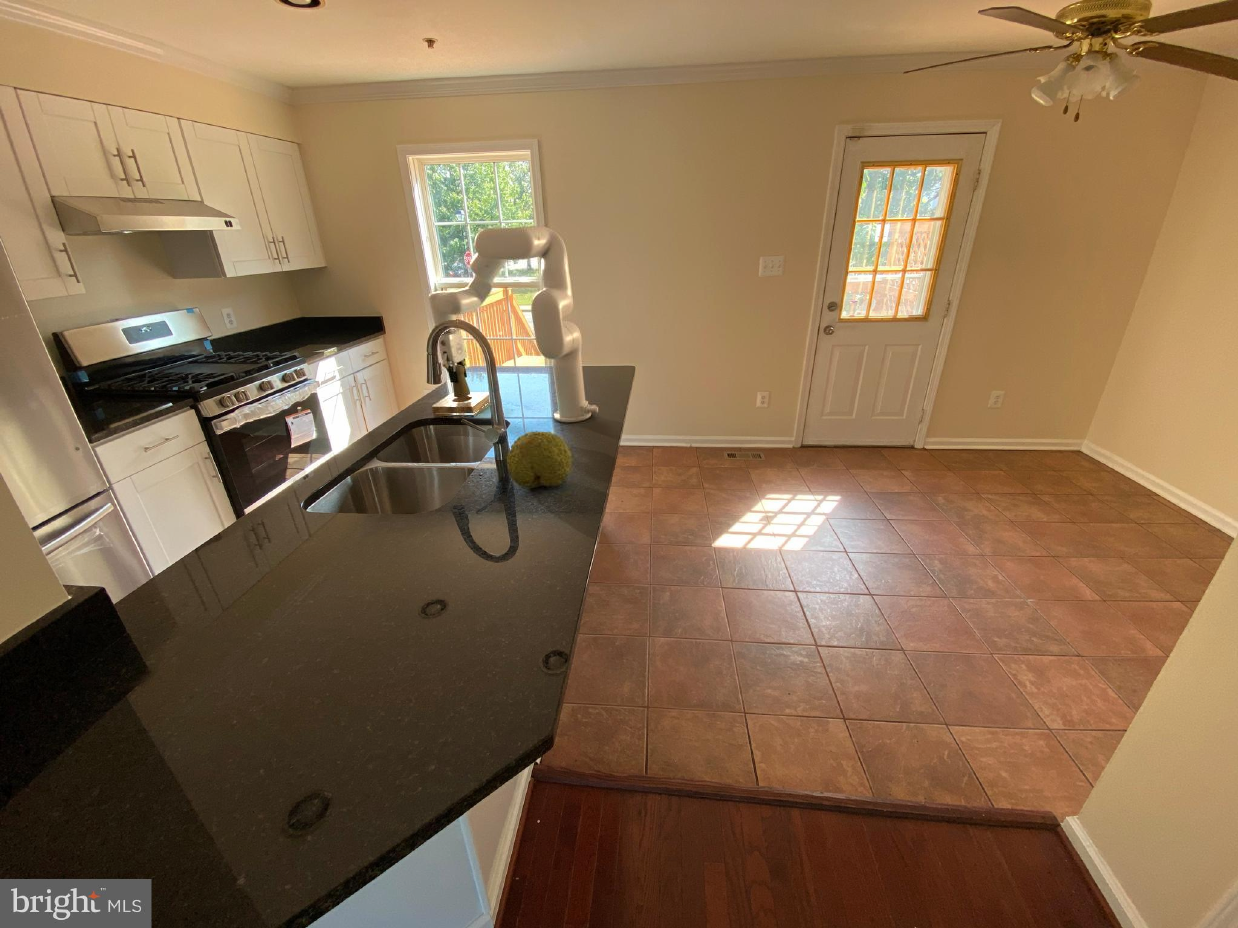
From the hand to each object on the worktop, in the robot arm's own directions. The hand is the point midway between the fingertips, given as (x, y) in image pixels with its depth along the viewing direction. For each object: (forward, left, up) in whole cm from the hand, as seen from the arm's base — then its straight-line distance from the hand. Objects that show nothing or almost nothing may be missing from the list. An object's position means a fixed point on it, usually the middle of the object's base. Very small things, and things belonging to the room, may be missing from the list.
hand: (459, 379), depth 180 cm
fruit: (-50, +54, -12) cm, 74 cm away
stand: (0, 0, -12) cm, 12 cm away
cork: (0, 0, -6) cm, 6 cm away
